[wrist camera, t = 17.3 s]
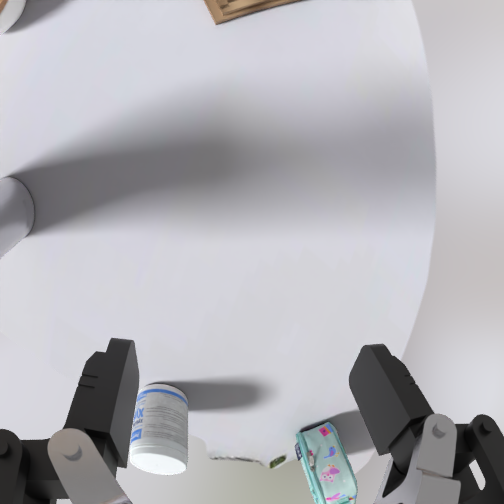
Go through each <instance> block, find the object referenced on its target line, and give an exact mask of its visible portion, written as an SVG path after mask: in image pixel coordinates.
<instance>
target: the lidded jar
mask: <svg viewBox="0 0 504 504" xmlns="http://www.w3.org/2000/svg"><path fill="white" fill-rule="evenodd" d="M25 4H26V0H0V35H1V34H3V33H4V32H6V31H7V30H8V29H9V28H10V27H11V26H13V25H14V24H15V23H16V21H17V20H18V19H19V18H20V16H21V14H22V13H23V10H24V8H25Z"/></svg>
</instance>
